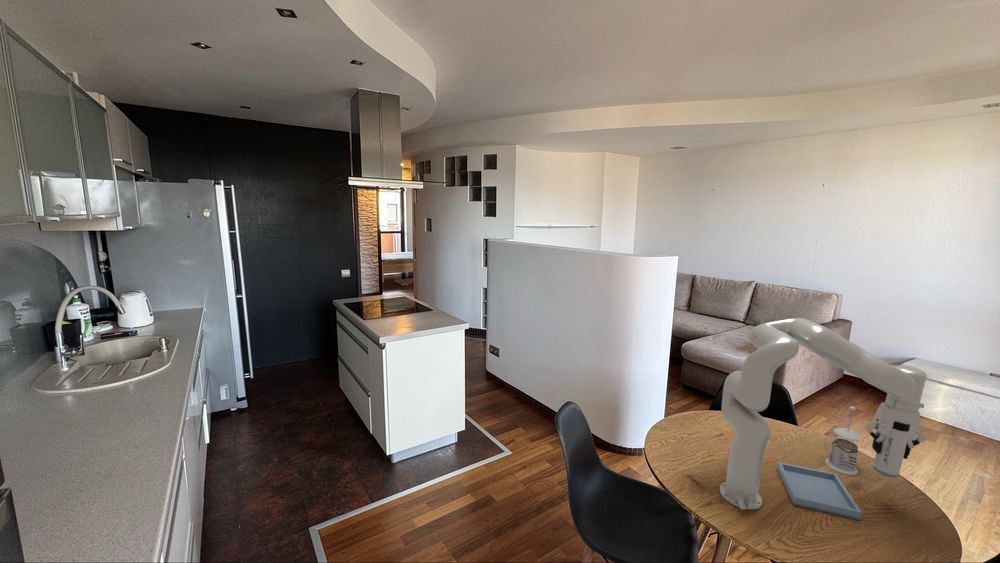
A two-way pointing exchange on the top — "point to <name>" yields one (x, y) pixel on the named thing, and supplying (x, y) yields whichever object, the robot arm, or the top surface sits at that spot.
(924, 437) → the robot arm
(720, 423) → the top surface
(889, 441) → the travel mug
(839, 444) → the french press
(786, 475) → the tray
